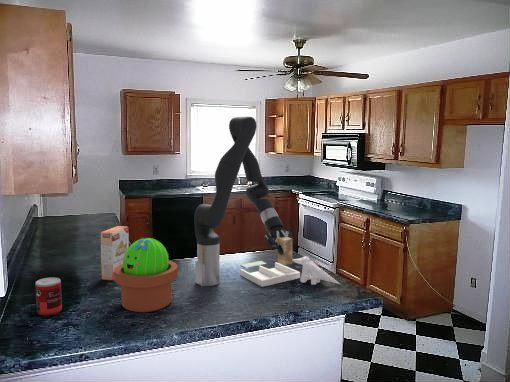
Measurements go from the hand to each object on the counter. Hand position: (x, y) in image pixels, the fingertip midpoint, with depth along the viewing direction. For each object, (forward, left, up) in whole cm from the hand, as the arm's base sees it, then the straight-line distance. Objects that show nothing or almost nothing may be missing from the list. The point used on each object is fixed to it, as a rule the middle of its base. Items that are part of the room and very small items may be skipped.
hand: (287, 252), depth 176 cm
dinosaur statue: (+7, -10, -13) cm, 18 cm away
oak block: (0, +2, -5) cm, 5 cm away
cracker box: (-60, +45, -13) cm, 76 cm away
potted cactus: (-59, +8, -13) cm, 61 cm away
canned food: (-90, +19, -13) cm, 93 cm away
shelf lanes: (-5, +6, -12) cm, 14 cm away
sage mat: (0, +22, -12) cm, 25 cm away
